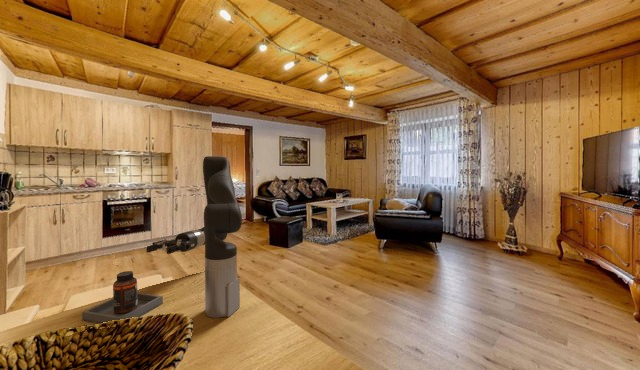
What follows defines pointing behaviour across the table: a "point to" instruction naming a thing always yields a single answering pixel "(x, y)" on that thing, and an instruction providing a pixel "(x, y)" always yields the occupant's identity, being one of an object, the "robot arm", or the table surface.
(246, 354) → the table surface
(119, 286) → the supplement bottle
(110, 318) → the tray
